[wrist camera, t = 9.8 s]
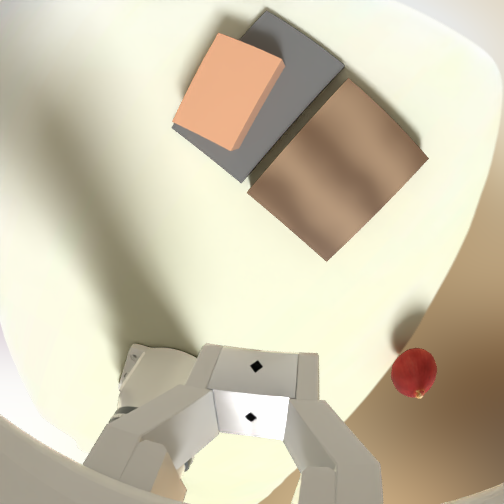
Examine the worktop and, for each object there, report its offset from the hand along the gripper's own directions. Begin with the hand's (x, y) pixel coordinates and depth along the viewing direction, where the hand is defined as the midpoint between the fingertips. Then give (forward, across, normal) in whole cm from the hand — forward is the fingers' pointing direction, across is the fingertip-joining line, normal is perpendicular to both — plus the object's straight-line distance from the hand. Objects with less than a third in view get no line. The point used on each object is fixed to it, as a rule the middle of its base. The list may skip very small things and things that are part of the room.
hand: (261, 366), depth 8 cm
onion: (+23, -16, +19) cm, 34 cm away
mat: (+23, +4, -10) cm, 25 cm away
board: (+23, -4, -2) cm, 23 cm away
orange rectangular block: (+22, +6, -10) cm, 25 cm away
